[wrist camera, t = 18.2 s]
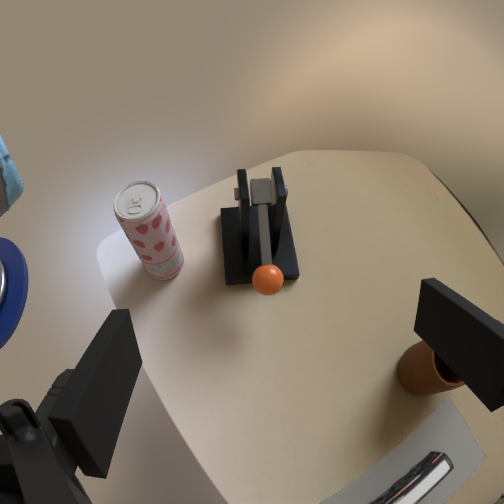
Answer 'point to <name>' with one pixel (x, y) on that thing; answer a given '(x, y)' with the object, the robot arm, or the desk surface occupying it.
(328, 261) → the desk surface
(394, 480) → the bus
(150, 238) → the beverage can
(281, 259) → the switch bracket
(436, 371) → the mug
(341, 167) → the desk surface
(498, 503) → the alarm clock
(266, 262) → the switch lever
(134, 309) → the desk surface
